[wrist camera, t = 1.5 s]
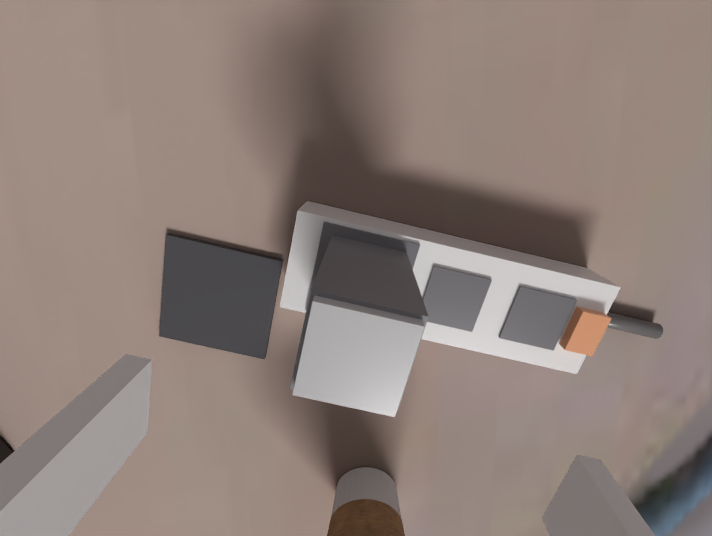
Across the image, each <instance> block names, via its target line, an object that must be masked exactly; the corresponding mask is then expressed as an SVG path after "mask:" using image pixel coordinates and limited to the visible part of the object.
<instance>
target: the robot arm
mask: <svg viewBox="0 0 712 536" xmlns="http://www.w3.org/2000/svg"><path fill="white" fill-rule="evenodd" d="M151 368H152V360H150V359H146V358H141V357H137V356H132V355H128V354H126V355H124V356H123V357H122V358H121V359H120V360H119V361H118V362H116V363H115V364H114V365H113V366H112V367H111V368H110V369H108V370H107V371H106V372H105V373H104V374H103V375H102V376H100V377H99V378H98V379H97V380H96V381H95V382H93V383H92V384H91V385H90V386H89V387H88V388H87V389H85V390H84V391H83V392H82V393H81V394H80V395H79V396H77V397H76V398H75V399H74V400H73V401H72V402H70V403H69V404H68V405H67V406H66V407H65V408H64V409H62V410H61V411H60V412H59V413H58V414H57V415H56V416H54V417H53V418H52V419H51V420H50V421H49V422H48V423H46V424H45V425H44V426H43V427H42V428H41V429H39V430H38V431H37V432H36V433H35V434H34V435H33V436H31V437H30V438H29V439H28V440H27V441H26V442H25V443H23V444H22V445H21V446H20V447H19V448H18V449H16V450H15V451H14V452H12V451H11V450H10V449H9V448H8V446H7V445H6V444H5V443H4V442H3V441H2V440H1V439H0V536H69V534H70V533H71V532H72V530H73V529H74V528H75V526H76V525H77V524H78V523H79V521H80V520H81V519H82V517H83V516H84V515H85V513H86V512H87V511H88V510H89V508H90V507H91V506H92V504H93V503H94V502H95V500H96V499H97V498H98V497H99V495H100V494H101V493H102V491H103V490H104V489H105V487H106V486H107V485H108V483H109V482H110V481H111V480H112V478H113V477H114V476H115V474H116V473H117V472H118V470H119V469H120V468H121V467H122V465H123V464H124V463H125V461H126V460H127V459H128V457H129V456H130V455H131V454H132V452H133V451H134V450H135V448H136V447H137V446H138V444H139V443H140V442H141V440H142V439H143V438H144V437H145V435H146V434H147V433H148V418H149V401H150V385H151ZM542 519H543V521H544V523H545V525H546V528H547V530H548V532H549V534H550V536H655V535H654V534H653V532H652V531H651V529H650V528H649V527H648V525H647V524H646V522H645V521H644V520H643V518H642V517H641V515H640V514H639V513H638V511H637V510H636V508H635V507H634V506H633V504H632V503H631V501H630V500H629V499H628V497H627V496H626V494H625V493H624V492H623V490H622V489H621V487H620V486H619V485H618V483H617V482H616V480H615V479H614V478H613V476H612V475H611V473H610V472H609V471H608V469H607V468H606V466H605V465H604V464H603V462H602V461H601V460H599V459H595V458H590V457H586V456H581V455H577V456H576V458H575V459H574V461H573V463H572V465H571V466H570V468H569V470H568V472H567V474H566V475H565V477H564V479H563V481H562V483H561V484H560V486H559V488H558V490H557V492H556V493H555V495H554V497H553V499H552V500H551V502H550V504H549V506H548V508H547V509H546V511H545V513H544V515H543V517H542Z"/></svg>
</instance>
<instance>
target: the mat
mask: <svg viewBox="0 0 712 536" xmlns="http://www.w3.org/2000/svg"><path fill="white" fill-rule="evenodd" d="M282 262H283V260H281V259H276V258H272V257H268V256H263V255H259V254H255V253H251V252H246V251H242V250H238V249H233V248H229V247H225V246H220V245H216V244H212V243H207V242H203V241H199V240H194V239H190V238H186V237H182V236H177V235H173V234H167V235H166V243H165V258H164V273H163V287H162V302H161V316H160V331H159V336H161V337H165V338H170V339H175V340H179V341H184V342H188V343H193V344H197V345H202V346H206V347H211V348H216V349H220V350H225V351H229V352H234V353H238V354H243V355H247V356H252V357H257V358H261V359H265V357H266V352H267V346H268V341H269V335H270V329H271V324H272V318H273V313H274V307H275V302H276V296H277V290H278V285H279V279H280V274H281V268H282Z"/></svg>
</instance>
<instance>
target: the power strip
mask: <svg viewBox="0 0 712 536" xmlns="http://www.w3.org/2000/svg"><path fill="white" fill-rule="evenodd" d="M332 235H335V236H339V237H343V238H348V239H352V240H356V241H360V242H365V243H369V244H373V245H377V246H382V247H386V248H390V249H394V250H398V251H403V252H407V255H408V258H409V260H410V263H411V266H412V269H413V272H414V275H415V278H416V281H417V284H418V287H419V290H420V293H421V296H422V299H423V302H424V305H425V307H426V310H427V313H428V316H429V317H428V320H427V323H426V326H425V329H424V332H423V335H422V338H421V339H424V340H428V341H433V342H437V343H441V344H446V345H450V346H455V347H459V348H464V349H468V350H472V351H477V352H481V353H486V354H490V355H495V356H499V357H503V358H508V359H512V360H517V361H521V362H525V363H530V364H534V365H539V366H543V367H548V368H552V369H556V370H561V371H565V372H570V373H574V374H577V372H578V370H579V369H580V367H581V365H582V363H583V361H584V359H585V357H586V355H589V356H593V354H594V352H595V350H596V348H597V346H598V344H599V342H600V340H601V338H602V336H603V334H604V332H605V330H606V329H607V327H608V328H612V329H616V330H621V331H625V332H629V333H634V334H638V335H642V336H646V337H651V338H655V339H656V338H659V337H661V335H662V333H663V328H662V326H661V325H660V324H657V323H653V322H649V321H645V320H640V319H636V318H632V317H628V316H623V315H619V314H615V313H611V312H608V311H609V309H610V307H611V305H612V303H613V301H614V299H615V298H616V296H617V294H618V292H619V290H620V288H621V287H619V286H618V285H616V284H614V283H612V282H611V281H609V280H607V279H606V278H604V277H602V276H600V275H599V274H597V273H595V272H594V271H592V270H590V269H588V268H586V267H581V266H577V265H573V264H569V263H565V262H561V261H556V260H552V259H548V258H544V257H540V256H536V255H531V254H527V253H523V252H519V251H515V250H511V249H506V248H502V247H498V246H494V245H490V244H486V243H481V242H477V241H473V240H469V239H465V238H461V237H456V236H452V235H448V234H444V233H440V232H435V231H431V230H427V229H423V228H419V227H415V226H410V225H406V224H402V223H398V222H394V221H390V220H385V219H381V218H377V217H373V216H369V215H365V214H360V213H356V212H352V211H348V210H344V209H340V208H335V207H331V206H327V205H323V204H319V203H315V202H310V201H307V202H306V203H305V204H304V205H302V206H301V207H300V208H299V209H298V211H297V216H296V222H295V227H294V233H293V238H292V243H291V249H290V254H289V260H288V265H287V271H286V276H285V281H284V287H283V292H282V298H281V303H280V307H282V308H287V309H291V310H296V311H300V312H304V313H306V310H307V306H308V301H309V296H310V291H311V288H312V285H313V283H314V280H315V278H316V275H317V273H318V270H319V267H320V265H321V262H322V260H323V257H324V255H325V252H326V249H327V247H328V244H329V242H330V239H331V236H332Z"/></svg>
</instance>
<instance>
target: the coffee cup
mask: <svg viewBox="0 0 712 536" xmlns="http://www.w3.org/2000/svg"><path fill="white" fill-rule="evenodd" d="M327 536H405V534H404V529H403V524H402V519H401V514H400V508H399V501H398V495H397V490H396V485H395V483H394V481H393V480H392V478H391V477H390V476H389V475H388V474H387V473H385V472H383V471H381V470H379V469H376V468H371V467H361V468H356V469H353V470H350V471H348V472H347V473H345V474H344V475H343V476H342V477H341V478H340V480H339V482H338V484H337V488H336V493H335V499H334V504H333V510H332V516H331V520H330V524H329V529H328V534H327Z"/></svg>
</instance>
